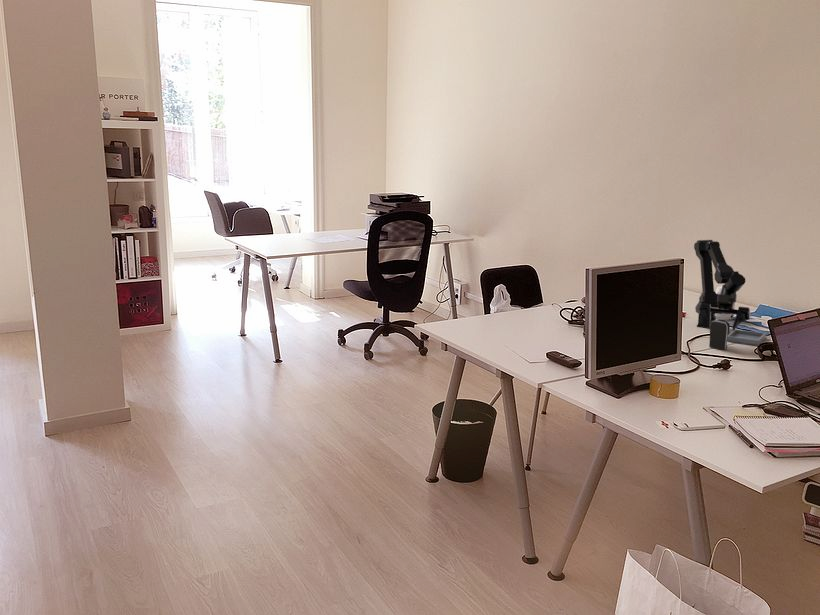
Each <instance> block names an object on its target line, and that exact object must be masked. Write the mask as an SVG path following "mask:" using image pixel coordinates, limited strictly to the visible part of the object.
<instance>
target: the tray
mask: <svg viewBox="0 0 820 615" xmlns="http://www.w3.org/2000/svg"><path fill="white" fill-rule="evenodd" d="M766 335H767V333H766V332H759V331H750V330H743V329H737V328H736V329H735V330H734V331H733V330H732V331H731V332H729V335H728V337H727V343H728V342H729V343H736V344H744V345H749V346H750V345H751V346H755V347H756V346H757V347H759V346H760V345H761V343H762V342H763V341H765V340H766V338H767V336H766Z"/></svg>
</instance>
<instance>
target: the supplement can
mask: <svg viewBox="0 0 820 615" xmlns="http://www.w3.org/2000/svg"><path fill="white" fill-rule="evenodd" d="M722 286H723V285H718V286H717V288H716V290H715V293H716V294H721V290H722ZM735 306H736V302H734V306H733V309H735V308H736V307H735ZM715 316H716V320H720V321H730V320H729V319H732V320H733V319H734V317H735V314H725V313H718V314H717V313H715Z"/></svg>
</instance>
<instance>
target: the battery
mask: <svg viewBox="0 0 820 615" xmlns="http://www.w3.org/2000/svg"><path fill="white" fill-rule="evenodd" d="M730 327H731V326H730V323H729V322H728V321H726V320H719V319H716V320H715V321H712V322H711V325H710V328H709V345H708V347H710V348H712V347H713V349H716V348H717V350H723V351H724V350H727V348H728V345H727V344H728V341H727V337H728V335H729V334H730V331H731V330H730Z"/></svg>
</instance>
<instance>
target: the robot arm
mask: <svg viewBox="0 0 820 615" xmlns="http://www.w3.org/2000/svg"><path fill="white" fill-rule="evenodd" d="M693 249H694V252H695V256H697V258H698V260H699V262H700V273H701V274H700V275H701V287H702V288H701V289H702V292H701V294H700V296H699V298H698V299H699V300H698V303H697V304H696V306H695V313H697V314H698V317H697V318H698V320H697V324H696V327H697V328H699V327H700V328H706V329H710V325H711V322H712V321H715V320H717V319H716V316H715V313H717V314H718V313H725V314H734V316H735V315H736V316H735V319H734V321H733V325H732V331H734V330H735V329H737V327H738V326H739V325H740V324H741V323H742V322H746V320H747V321H749V320H750V318H751V309H750V308H749V307H747V306H738V309H735V308H734V309H733V306H734V302H735V303H737V298H738V297H737V296H738V294H737V292H739V291H740V290H741V288H742V287H744V285H745V283H746V277H745V276H743V274H741V273H739V271H738V270H737V271H735V270H734V268H733V267H732V266H730V265H728V264H727V261H726V259H725V257H724V254H723V252H722V249H721V244H720V242H719V241H717V240H716V241H715V240H713V239H700V240H699V239H698V240H697V241H696V242H694V245H693ZM713 267H714V269H715V271H713ZM713 272H714V273H713ZM714 280H715V282H716V283H717V285H720V284H721V286H722V290H721V294H716V290H715V285H714ZM722 284H723V285H722Z"/></svg>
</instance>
